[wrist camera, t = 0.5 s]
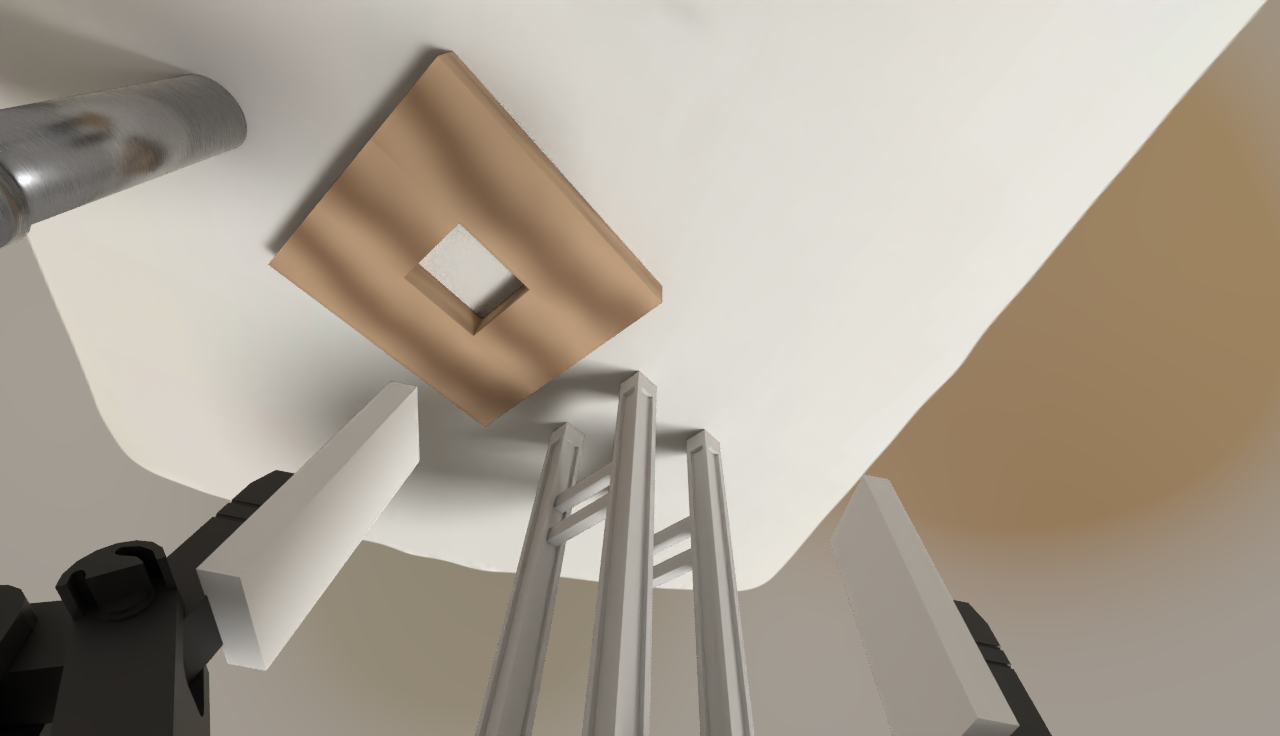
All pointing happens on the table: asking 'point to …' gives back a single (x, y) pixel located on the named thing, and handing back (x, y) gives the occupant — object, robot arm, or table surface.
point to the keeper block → (493, 214)
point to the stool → (624, 583)
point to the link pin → (107, 144)
